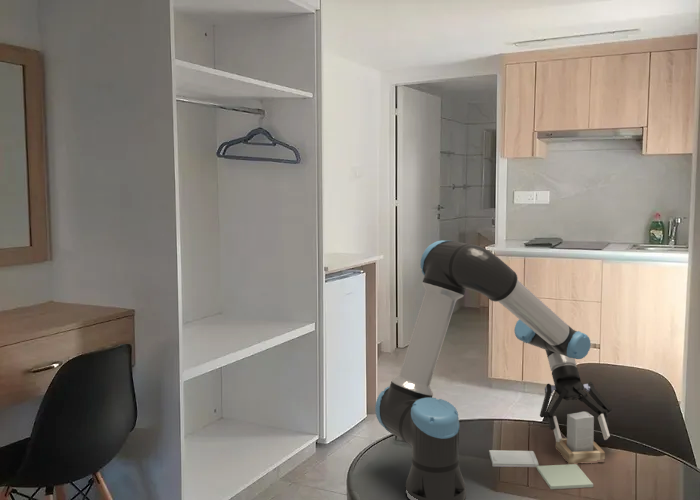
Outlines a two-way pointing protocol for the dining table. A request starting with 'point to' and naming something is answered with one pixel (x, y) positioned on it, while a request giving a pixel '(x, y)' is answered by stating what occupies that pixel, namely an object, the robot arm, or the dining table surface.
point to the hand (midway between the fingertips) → (583, 439)
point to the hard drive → (513, 458)
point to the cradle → (579, 453)
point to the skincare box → (580, 431)
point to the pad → (564, 476)
